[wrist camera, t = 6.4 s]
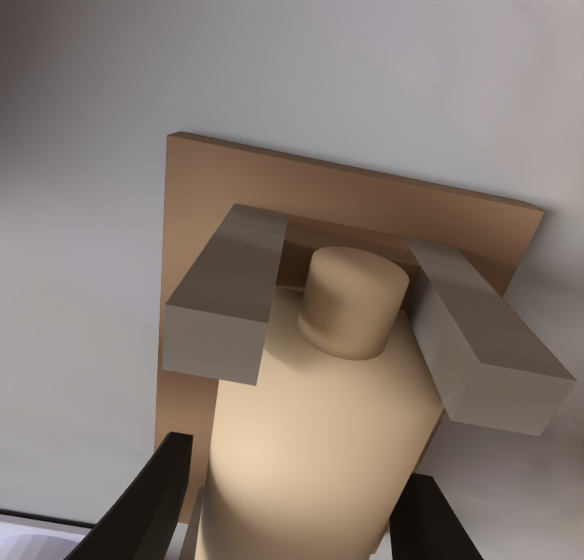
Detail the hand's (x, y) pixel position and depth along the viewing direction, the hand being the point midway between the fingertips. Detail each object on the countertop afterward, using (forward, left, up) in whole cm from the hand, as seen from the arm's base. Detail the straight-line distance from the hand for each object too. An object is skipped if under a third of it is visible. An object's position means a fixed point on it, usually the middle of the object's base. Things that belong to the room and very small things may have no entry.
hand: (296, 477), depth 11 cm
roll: (0, 0, -2) cm, 2 cm away
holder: (0, 0, -4) cm, 4 cm away
